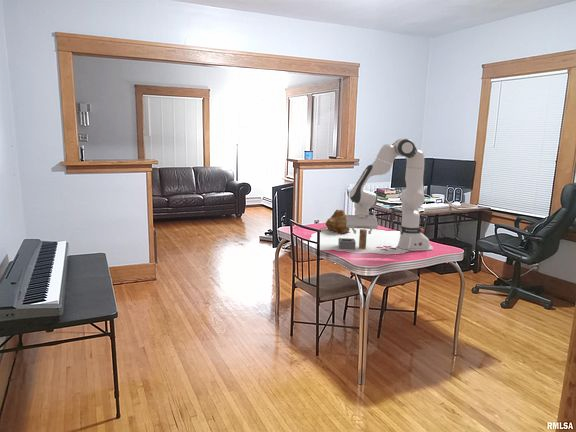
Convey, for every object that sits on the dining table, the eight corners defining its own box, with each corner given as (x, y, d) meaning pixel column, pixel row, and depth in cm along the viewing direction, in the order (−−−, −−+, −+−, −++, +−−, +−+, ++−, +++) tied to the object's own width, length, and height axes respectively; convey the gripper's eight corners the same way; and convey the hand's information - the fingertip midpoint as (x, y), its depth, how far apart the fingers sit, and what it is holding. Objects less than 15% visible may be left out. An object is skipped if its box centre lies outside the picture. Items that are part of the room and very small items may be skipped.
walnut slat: (365, 247, 276) (366, 229, 274) (365, 248, 273) (366, 230, 271) (358, 247, 276) (359, 229, 274) (359, 248, 274) (360, 230, 271)
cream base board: (368, 248, 280) (369, 246, 280) (371, 253, 270) (371, 250, 269) (338, 247, 281) (338, 245, 281) (339, 252, 270) (339, 249, 270)
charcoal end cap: (353, 246, 280) (354, 238, 279) (355, 249, 271) (355, 242, 270) (338, 245, 280) (338, 238, 279) (339, 249, 271) (339, 241, 270)
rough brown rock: (323, 228, 341) (322, 209, 337) (343, 226, 342) (343, 208, 339) (329, 236, 318) (328, 216, 315) (351, 234, 320) (350, 214, 316)
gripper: (346, 212, 281) (346, 230, 273) (377, 213, 280) (378, 231, 272) (345, 217, 286) (345, 235, 278) (376, 218, 285) (377, 236, 277)
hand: (362, 233), depth 275 cm, fingers open, 8 cm apart
